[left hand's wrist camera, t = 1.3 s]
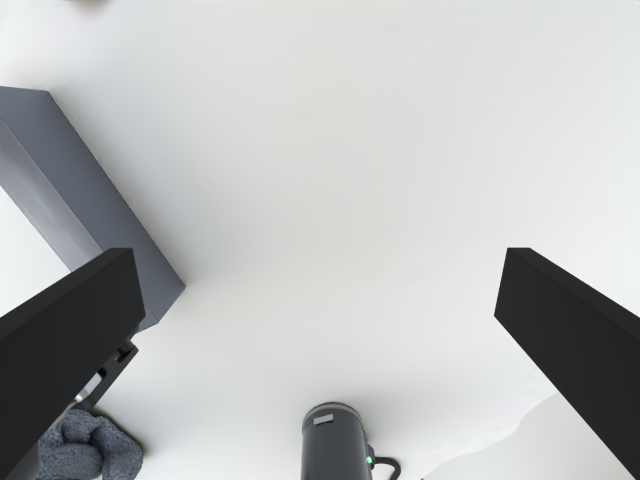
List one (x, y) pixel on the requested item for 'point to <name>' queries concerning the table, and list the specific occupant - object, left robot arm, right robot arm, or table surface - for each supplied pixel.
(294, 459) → the table surface
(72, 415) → the koala plush
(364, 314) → the table surface
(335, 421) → the right robot arm
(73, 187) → the bar
